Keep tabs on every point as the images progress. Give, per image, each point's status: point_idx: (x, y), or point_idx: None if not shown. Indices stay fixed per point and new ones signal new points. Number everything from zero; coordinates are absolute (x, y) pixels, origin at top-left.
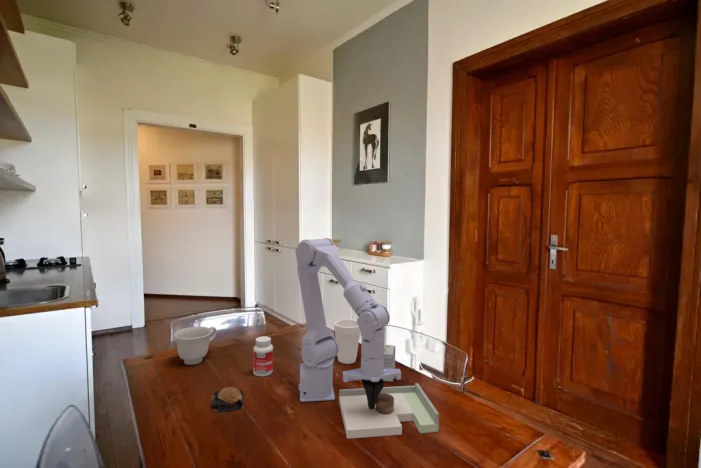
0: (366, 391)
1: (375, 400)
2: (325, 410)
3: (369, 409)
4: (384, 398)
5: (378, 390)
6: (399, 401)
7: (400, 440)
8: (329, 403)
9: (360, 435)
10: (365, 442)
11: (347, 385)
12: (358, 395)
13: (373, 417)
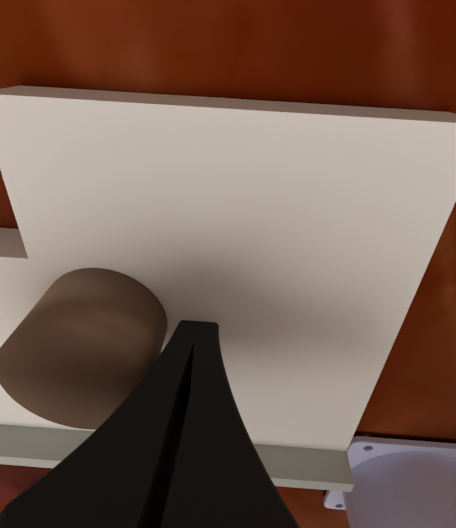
0: (258, 474)
1: (160, 368)
2: (431, 383)
3: None
4: (77, 381)
5: (96, 466)
6: None
7: (33, 7)
8: (384, 420)
9: (349, 107)
10: (327, 34)
11: None
12: None
13: (204, 252)
